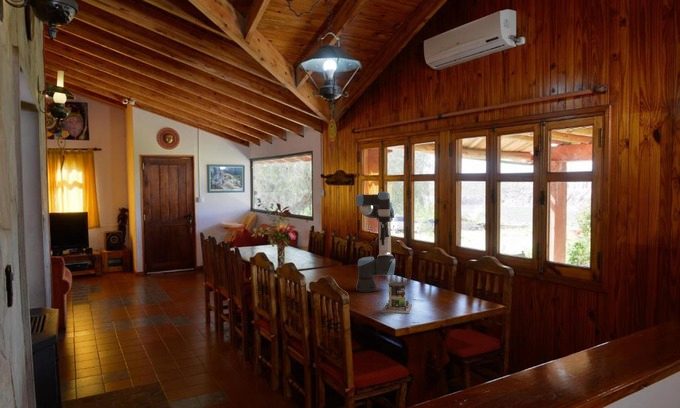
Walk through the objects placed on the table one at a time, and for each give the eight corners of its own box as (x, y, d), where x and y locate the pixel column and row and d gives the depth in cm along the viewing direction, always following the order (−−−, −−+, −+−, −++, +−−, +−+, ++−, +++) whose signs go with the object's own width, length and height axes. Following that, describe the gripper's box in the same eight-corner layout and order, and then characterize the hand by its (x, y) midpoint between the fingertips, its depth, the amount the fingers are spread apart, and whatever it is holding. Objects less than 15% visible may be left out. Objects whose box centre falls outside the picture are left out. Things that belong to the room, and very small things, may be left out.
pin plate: (386, 305, 314) (386, 299, 313) (411, 306, 310) (411, 300, 310) (382, 312, 298) (382, 305, 298) (409, 313, 294) (409, 306, 294)
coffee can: (409, 307, 303) (409, 284, 302) (396, 310, 297) (396, 286, 296) (397, 303, 311) (397, 281, 310) (385, 306, 305) (384, 283, 304)
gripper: (381, 214, 334) (381, 245, 335) (375, 217, 309) (375, 251, 311) (392, 214, 332) (392, 245, 333) (387, 217, 308) (387, 251, 309)
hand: (384, 248), depth 322 cm, fingers open, 13 cm apart
